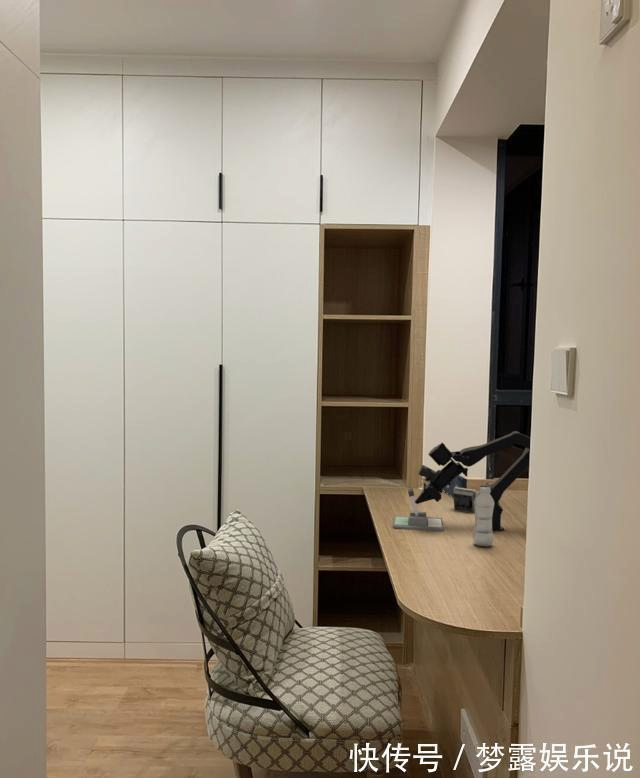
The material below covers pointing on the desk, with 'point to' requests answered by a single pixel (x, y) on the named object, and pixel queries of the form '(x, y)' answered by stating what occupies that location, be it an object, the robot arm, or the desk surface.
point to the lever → (413, 501)
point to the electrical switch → (464, 499)
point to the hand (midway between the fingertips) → (415, 502)
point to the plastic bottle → (483, 517)
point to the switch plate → (418, 522)
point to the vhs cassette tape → (456, 485)
